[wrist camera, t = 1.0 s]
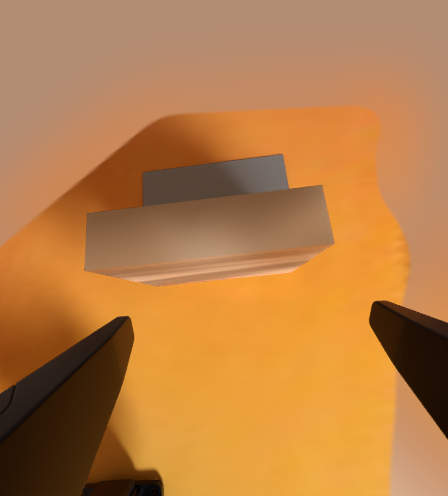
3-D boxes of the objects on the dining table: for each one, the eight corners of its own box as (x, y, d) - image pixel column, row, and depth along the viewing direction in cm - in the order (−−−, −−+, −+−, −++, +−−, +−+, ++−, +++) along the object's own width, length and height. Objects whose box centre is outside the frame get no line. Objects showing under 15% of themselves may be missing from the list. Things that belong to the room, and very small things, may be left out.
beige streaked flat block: (291, 272, 21) (334, 243, 11) (156, 286, 21) (84, 270, 11) (285, 239, 21) (321, 184, 12) (155, 253, 22) (86, 213, 12)
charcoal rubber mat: (296, 232, 21) (296, 232, 21) (144, 249, 22) (143, 249, 22) (282, 155, 23) (282, 154, 23) (143, 173, 24) (142, 172, 24)
